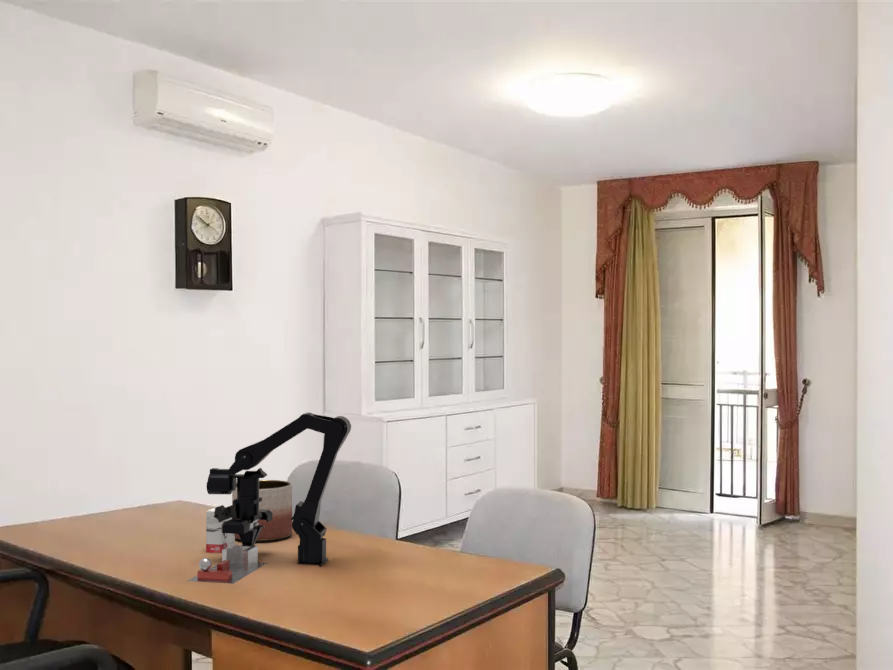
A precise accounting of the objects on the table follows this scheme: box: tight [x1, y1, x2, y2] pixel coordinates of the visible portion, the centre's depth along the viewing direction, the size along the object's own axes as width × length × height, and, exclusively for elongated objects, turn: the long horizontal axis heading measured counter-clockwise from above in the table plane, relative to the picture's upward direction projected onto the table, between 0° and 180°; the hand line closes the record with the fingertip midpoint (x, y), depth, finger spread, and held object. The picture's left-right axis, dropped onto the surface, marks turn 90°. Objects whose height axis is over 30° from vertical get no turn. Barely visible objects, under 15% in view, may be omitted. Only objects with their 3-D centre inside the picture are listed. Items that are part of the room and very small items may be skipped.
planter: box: [231, 479, 293, 543], centre depth 254 cm, size 18×18×16 cm
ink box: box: [205, 505, 236, 554], centre depth 237 cm, size 9×5×12 cm, turn 168°
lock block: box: [221, 543, 259, 569], centre depth 219 cm, size 7×6×4 cm
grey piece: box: [186, 557, 268, 585], centre depth 212 cm, size 12×20×6 cm, turn 169°
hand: (247, 554), depth 223 cm, fingers closed
